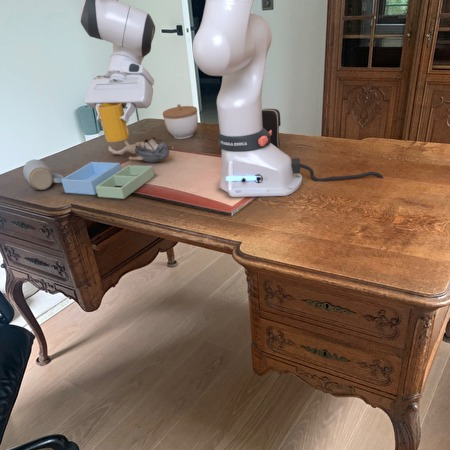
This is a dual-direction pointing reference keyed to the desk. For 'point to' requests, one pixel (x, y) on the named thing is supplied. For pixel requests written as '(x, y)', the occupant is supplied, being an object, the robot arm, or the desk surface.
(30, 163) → the ceramic mug
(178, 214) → the desk surface
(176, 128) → the lidded bowl
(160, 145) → the anime figure
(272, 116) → the battery charger
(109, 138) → the tumbler
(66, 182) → the open storage box
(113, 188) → the divided storage tray
